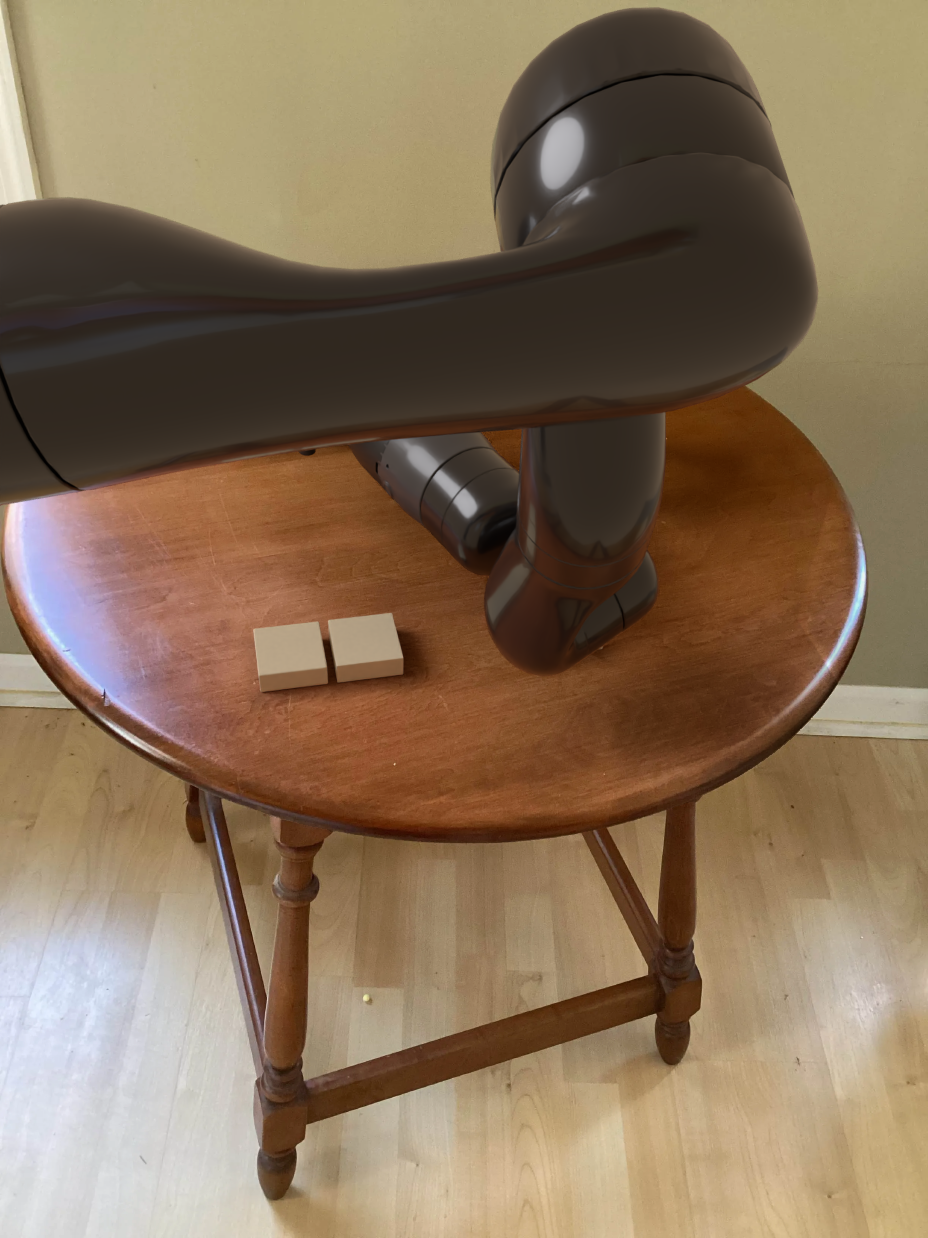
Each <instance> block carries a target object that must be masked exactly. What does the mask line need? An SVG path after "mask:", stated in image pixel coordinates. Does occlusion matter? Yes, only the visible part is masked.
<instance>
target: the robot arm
mask: <svg viewBox="0 0 928 1238" xmlns="http://www.w3.org/2000/svg"><path fill="white" fill-rule="evenodd" d="M497 119H498V120H497V123H496V127H495V131H494V135H493V137H492V138H493V139H492V144H491V151H490V152H491V153H490V173H489V174H490V177H489V179H490V180H489V181H490V182H489V183H490V185H489V186H490V195H491V204H492V211H493V218H494V219H493V220H494V225H495V229H496V234H497V240H498V244H499V250H500V251H497V252H493V253H486V254H481V255H475V256H470V257H465V258H457V259H450V260H442V261H441V260H440V261H432V262H424V263H416V264H408V265H397V266H390V267H373V268H371V267H370V268H348V267H347V268H346V267H335V266H323V265H317V264H312V263H306V262H303V261H302V262H301V261H297V260H290V259H287V258H284V257H280V256H277V255H274V254H272V253H271V254H270V253H267V252H264V251H262V250H257V249H254V248H252V247H249V246H246V245H244V244H241V243H237V242H235V241H232V240H230V239H226V238H224V237H221V236H219V235H216V234H212V233H209V232H207V231H204V230H202V229H200V228H196V227H193V226H190V225H187V224H184V223H181V222H178V221H176V220H174V219H170V218H168V217H164V216H160V215H157V214H154V213H151V212H147V211H144V210H140V209H138V208H134V207H130V206H125V205H120V204H116V203H111V202H107V201H102V200H97V199H92V198H85V197H83V198H82V197H73V196H72V197H70V196H57V197H56V196H55V197H45V198H35V199H27V200H22V201H15V202H14V201H13V202H8V203H5V204H4V203H3V204H0V507H2V506H7V505H12V504H18V503H23V502H28V501H29V502H30V501H34V500H40V499H47V498H52V497H58V496H64V495H69V494H75V493H82V492H87V491H94V490H98V489H103V488H108V487H113V486H118V485H120V484H121V485H122V484H127V483H131V482H135V481H140V480H145V479H150V478H153V477H160V476H164V475H170V474H174V473H179V472H184V471H189V470H195V469H200V468H201V469H202V468H206V467H207V468H208V467H212V466H218V465H223V464H232V463H236V462H237V463H238V462H242V461H243V462H244V461H248V460H254V459H261V458H262V459H263V458H267V457H274V456H280V455H286V454H287V455H288V454H292V453H299V454H300V455H301V456H305V457H307V456H308V457H310V456H313V455H315V454H316V451H317V450H319V449H327V448H334V447H342V446H348V448H349V449H350V451H351V452H352V454H353V456H354V458H355V459H356V461H357V462H358V464H359V465H360V466H361V467H362V468H363V469H364V470H365V471H366V472H367V474H369V475H370V477H372V479H374V481H375V482H376V483H377V484H378V485H379V486H380V487H381V488H382V489H383V491H385V492H386V493H387V495H388V496H390V497H391V498H392V500H393V501H394V502H395V503H396V504H397V505H398V506H399V507H400V508H401V509H402V510H403V512H405V513H406V514H407V515H408V517H410V518H411V519H413V520H414V521H415V522H417V523H418V524H420V525H421V526H423V527H424V528H425V529H426V531H428V532H429V533H430V534H431V536H433V538H434V539H435V540H436V541H437V542H438V543H439V544H440V545H441V546H442V548H444V549H445V550H446V551H447V552H448V554H449V555H450V556H451V557H452V558H453V559H454V560H455V561H456V562H457V563H458V564H459V565H461V566H462V568H464V569H465V570H467V571H468V572H470V573H472V574H475V575H477V576H483V577H484V576H485V577H488V578H487V580H486V584H485V589H484V593H483V612H484V617H485V623H486V628H487V630H488V634H489V635H490V638H491V640H492V642H493V644H494V645H495V647H496V649H497V650H498V651H499V653H500V654H501V655H502V656H503V658H505V661H507V662H508V663H510V664H511V665H512V666H514V667H515V668H516V669H518V670H520V671H522V672H524V673H526V674H529V675H532V676H538V677H551V676H553V677H554V676H557V675H560V674H562V673H565V672H567V671H570V669H571V668H572V669H573V667H576V666H577V665H578V664H579V663H581V662H582V661H584V660H585V659H586V658H588V657H590V656H591V655H593V654H594V653H595V652H597V651H599V650H601V649H600V648H601V647H602V646H603V647H604V646H605V645H607V644H608V643H610V642H611V641H612V640H614V639H616V638H617V637H619V636H620V635H621V634H622V633H624V632H626V631H627V630H629V629H631V627H633V626H634V625H636V624H637V623H639V622H640V621H641V620H642V619H644V618H645V617H646V616H647V615H648V614H649V613H650V612H652V610H653V608H654V607H655V605H656V604H657V601H658V597H659V593H660V577H659V572H658V567H657V565H656V562H655V560H654V559H653V557H652V554H651V553H650V551H649V550H648V548H649V545H650V543H651V539H652V537H653V533H654V529H655V526H656V523H657V520H658V517H659V513H660V510H661V506H662V500H663V494H664V484H665V478H666V477H665V476H666V465H667V464H666V460H667V415H666V413H669V412H673V411H677V410H681V409H685V408H688V407H691V406H695V405H698V404H699V405H700V404H701V403H705V402H708V401H712V400H715V399H718V398H720V397H722V396H725V395H728V394H730V393H732V392H734V391H737V390H738V389H741V388H744V387H745V386H747V385H750V384H752V383H753V382H755V381H757V380H759V379H761V378H762V377H764V376H765V375H766V374H768V373H769V372H771V371H773V370H774V369H775V368H777V367H778V366H779V365H781V364H782V363H784V362H785V360H786V359H788V357H789V356H790V355H791V354H792V353H793V352H795V350H796V349H797V348H798V347H799V346H800V345H801V344H802V342H804V339H805V338H806V337H807V336H808V333H809V332H810V330H811V326H812V324H813V322H814V320H815V318H816V314H817V307H818V302H819V285H818V279H817V271H816V265H815V262H814V261H815V260H814V259H813V254H812V250H811V245H810V241H809V238H808V233H807V230H806V228H805V224H804V221H803V220H804V219H803V217H802V213H801V211H800V208H799V206H798V203H797V202H796V198H795V195H794V191H793V189H792V186H791V182H790V179H789V177H788V174H787V171H786V168H785V167H786V166H785V165H784V162H783V159H782V155H781V152H780V149H779V146H778V143H777V140H776V138H775V135H774V134H775V133H774V131H773V128H772V127H773V126H772V122H771V121H770V119H769V116H768V113H767V111H766V108H765V105H764V101H763V100H762V97H761V94H760V92H759V89H758V87H757V84H756V83H755V81H754V79H753V76H752V75H751V73H750V72H749V70H748V68H747V66H746V65H745V64H744V62H743V61H742V59H741V58H740V56H739V55H738V53H737V52H736V50H735V49H734V48H733V46H732V45H731V44H730V42H729V41H728V40H727V39H726V38H724V36H722V35H721V34H720V33H719V32H717V30H715V29H714V28H713V27H712V26H711V25H710V24H707V23H706V22H704V21H702V20H700V19H699V18H697V17H695V16H692V15H690V14H688V13H686V12H684V11H679V10H675V9H668V8H664V7H659V6H657V7H650V6H649V7H630V8H629V7H628V8H622V9H617V10H614V11H609V12H606V13H602V14H600V15H598V16H596V17H593V18H591V19H588V20H585V21H584V22H583V21H582V22H581V23H578V24H576V25H575V26H574V27H572V28H570V29H569V30H567V31H565V32H563V34H561V35H559V36H557V37H556V38H554V39H553V40H552V41H551V42H550V43H549V44H547V46H545V47H544V48H543V49H542V50H541V51H540V52H539V53H538V54H537V55H536V56H535V57H533V58H532V60H531V61H530V62H529V63H528V64H527V66H526V67H525V69H524V70H523V71H522V72H521V74H520V75H519V76H518V78H517V80H516V81H515V82H514V84H513V85H512V87H511V89H510V91H509V94H508V95H507V98H506V100H505V101H504V103H503V106H502V108H501V110H500V112H499V116H498V118H497ZM516 430H521V435H520V451H519V467H518V469H517V468H516V467H515V466H514V465H512V463H510V462H509V461H508V460H507V459H506V458H505V457H504V456H503V455H502V454H500V453H499V452H498V451H497V449H495V447H494V446H493V444H492V443H491V441H490V440H489V439H488V438H487V437H486V436H485V435H484V433H486V432H501V431H516ZM598 649H599V650H598Z"/></svg>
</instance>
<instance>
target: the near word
mask: <svg viewBox="0 0 928 1238" xmlns="http://www.w3.org/2000/svg"><path fill="white" fill-rule="evenodd" d="M327 626H328V627H327V629H328V639H329V646H330V649H331V655H332V660H333V662H332V663H333V667H334V672H335V677H336V682H337V683H345V682H354V681H361V680H368V679H377V678H386V677H392V676H401V675H402V676H403V674H404V655H403V650H402V647H401V641H400V639H399V635H398V631H397V627H396V622H395V618H394V615H393V612H388V613H377V614H370V615H360V616H351V617H343V618H335V619H328V620H327ZM252 631H253V640H254V649H255V650H254V651H255V658H256V666H257V667H256V668H257V676H258V683H259V692H260V693H265V692H272V691H273V692H274V691H279V690H287V689H288V690H289V689H294V688H304V687H313V686H320V685H327V684H329V675H328V664H327V660H326V659H327V658H326V653H325V647H324V642H323V641H324V640H323V636H322V630H321V624H320V621H309V622H301V623H292V624H284V625H275V626H265V627H257V628H253V630H252ZM602 649H604V646H602V647H601V648H600V649H598V650H597V651H599V650H602Z"/></svg>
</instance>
